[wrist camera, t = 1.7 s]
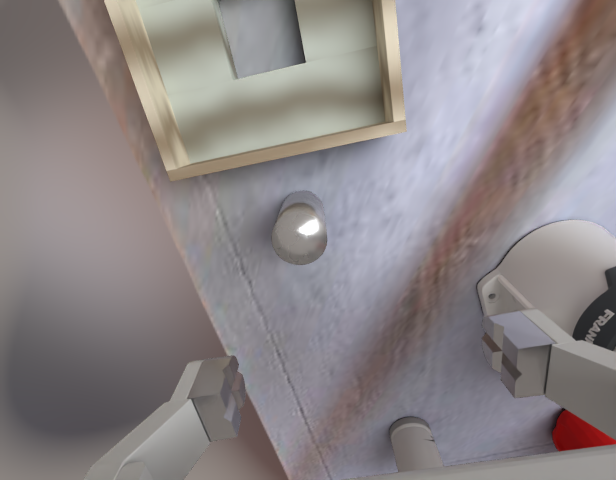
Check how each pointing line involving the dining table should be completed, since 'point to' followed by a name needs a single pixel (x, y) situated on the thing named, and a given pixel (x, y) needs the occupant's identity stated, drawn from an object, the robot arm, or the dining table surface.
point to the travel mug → (414, 445)
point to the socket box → (260, 82)
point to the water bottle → (577, 433)
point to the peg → (300, 229)
